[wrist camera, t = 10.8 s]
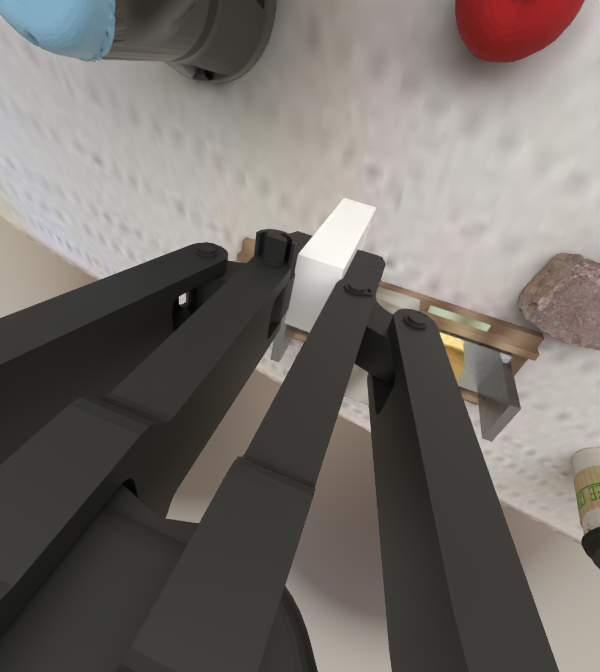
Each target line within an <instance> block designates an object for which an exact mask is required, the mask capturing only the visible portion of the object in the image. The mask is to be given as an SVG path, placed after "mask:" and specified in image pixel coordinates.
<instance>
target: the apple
mask: <svg viewBox="0 0 600 672" xmlns="http://www.w3.org/2000/svg"><path fill="white" fill-rule="evenodd" d="M583 2H584V0H456V6H455V13H456V19H457V25H458V30H459V33H460V35H461V38H462V40H463V41H464V43H465V44H466V46H467V48H468V49H469V50H470V51H471V52H472V53H473V54H474V55H475V56H477V57H478V58H480V59H482V60H486V61H490V62H514V61H516V60H519V59H522V58H525V57H527V56H529V55H531V54H533V53H535V52H538V51H540V50H542V49H544V48H545V47H546V46H548V45H549V44H551V43H552V42H553V41H555V40H556V39H557V38H558V37H559V36H560V35H561V34H562V32H563V31H564V30H565V29H566V28H567V27H568V26H569V25H570V24H571V22H572V21H573V19H574V18H575V16H576V15H577V13H578V12H579V10H580V8H581V6H582V4H583Z"/></svg>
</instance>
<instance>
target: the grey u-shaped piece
mask: <svg viewBox="0 0 600 672" xmlns="http://www.w3.org/2000/svg"><path fill="white" fill-rule="evenodd" d="M285 317H286V313H285V315H284V316H283V318H282V321H281V326H280V330H279V332H278V334H277V335H276V337H275V338H274V343H273V349H272V354H271V360H274V361H277V362H279V361H280V359H281V358H282V356H283V354H284V352H285V351H286V349H287V347H288V346H289V344H290V342H291V340H292V339H293V337H294V335H295V334H296V332H297V330H298V329H300V328H297V327H294V326H291V325H288V324H286V323H285ZM300 330H302V329H300ZM438 330H439V332H440V335H441V338H442V341H443V344H444V347H445V349H446V352H447V355H448V358H449V361H450V364H451V366H452V369H453V372H454V375H455V378H456V381H457V383H458V386H460V387H463V388H466V389H468V390H471V391H474V392H477V393H478V403H479V413H480V423H481V433H482V438H483V439H486V440H489V441H491V442H492V441H493V440H494V438H495V437H496V436H497V435H498V434H499V433H500V432H501V431H502V430H503V428H504V427H505V426H506V425H507V424H508V423H509V422H510V421H511V420H512V418H513V417H514V416H515V415H516V414H517V413H518V412H519V411H520V409H521V407H520V402H519V398H518V393H517V389H516V384H515V380H514V375H513V371H512V366H511V362H510V360H511V358H512V357H513V356H512V353H510V352H507V351H504V350H501V349H498V348H495V347H492V346H489V345H486V344H483V343H480V342H477V341H474V340H471V339H468V338H465V337H462V336H459V335H456V334H453V333H450V332H447V331H444V330H442V329H439V328H438ZM303 331H305V330H303ZM306 332H308V331H306ZM308 333H310V332H308Z"/></svg>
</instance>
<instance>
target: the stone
mask: <svg viewBox="0 0 600 672" xmlns="http://www.w3.org/2000/svg"><path fill="white" fill-rule="evenodd" d="M517 307H518V309H520V310H521V311H522V312H523V316H524V318H525V319H526V320H529V321H530V322H531V323H532V324H534V325H535V326H536V327H537V328H539V329H541V330H542V331H543V332H545V333H548V334H550V335H551V337H553V338H556V339H559V340H561V341H564V342H566V343H568V344H576V345H578V346H582V347H586V348H592V349H595V350H600V263H597V262H594V261H591V260H588V259H584V258H583V256H582V255H579V254H566V253H561V254H557V255H556V256H555V257H554V258H553V259H552V260H551V261H550V262H549V264H548V266H547V267H546V268H545V269H543V270H542V271H540V273H539V274H538V275H537V276H536V277H534V279H533V280H532V282H531V283H529V284H528V285H527V287H526V288H525V289H524V290H523V292H522V293H521V295H520V298H519V303H518V306H517Z"/></svg>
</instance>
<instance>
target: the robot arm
mask: <svg viewBox="0 0 600 672" xmlns="http://www.w3.org/2000/svg"><path fill="white" fill-rule="evenodd" d="M275 11H276V0H0V15H1V16H2V17H3V18H4V19H5V20H6V21H7V22H8V23H9V24H10V25H11V26H12V27H13V28H14V29H15V30H16V31H17V32H18V33H19V34H21V35H22V36H23V37H24V38H26V39H27V40H28V41H30V42H31V43H33V44H34V45H36V46H39V47H40V48H42V49H44V50H47V51H49V52H51V53H54V54H58V55H63V56H68V57H73V58H78V59H80V60H83V61H87V62H89V61H94V62H96V60H99V61H100V60H101V59H104V60H135V61H164V62H165V63H167V64H168V65H170V66H171V67H173V68H174V69H175V70H177V71H178V72H180V73H181V74H183V75H184V76H186V77H188V78H191V79H193V80H196V81H200V82H205V83H222V82H228V81H232V80H234V79H237V78H239V77H241V76H242V75H244V74H245V73H246V72H248V71H249V70H250V69H251V68H252V67H253V66H254V64H255V63H256V62H257V61H258V59H259V58H260V56H261V55H262V53H263V51H264V49H265V47H266V45H267V43H268V40H269V37H270V34H271V31H272V27H273V23H274V18H275ZM375 210H376V207H373V206H370V205H366V204H363V203H360V202H356V201H353V200H350V199H346V198H344V199H343V200H342V201H341V203H340V204H339V205H338V206H337V207H336V209H335V210H334V211H333V212H332V214H331V215H330V216H329V217H328V218H327V220H326V221H325V222H324V223H323V224H322V226H321V227H320V228H319V229H318V231H317V232H316V233H315V234H314V235H313V236H311V235H308V234H305V233H302V232H298V231H297V232H293V233H290V234H288V233H286V232H284V231H279V230H274V229H265V230H260V231H258V232H256V241H255V250H254V256H253V257H252V258H251V259H250V260H249V261H248V262H247V263H239V262H233V261H228V253H227V251H226V250H225V249H224V248H222V247H221V246H218V245H216V244H213V243H207V242H205V243H196V244H192V245H189V246H187V247H184V248H182V249H179V250H176V251H174V252H171V253H169V254H166V255H163V256H161V257H158V258H156V259H153V260H150V261H148V262H145V263H143V264H140V265H137V266H135V267H132V268H130V269H127V270H124V271H122V272H119V273H117V274H114V275H111V276H109V277H106V278H104V279H101V280H98V281H96V282H93V283H91V284H88V285H86V286H83V287H80V288H78V289H75V290H72V291H70V292H67V293H65V294H62V295H59V296H57V297H54V298H52V299H49V300H46V301H44V302H41V303H39V304H36V305H34V306H31V307H28V308H26V309H23V310H21V311H18V312H15V313H13V314H10V315H7V316H5V317H2V318H0V672H318V671H317V667H316V663H315V659H314V655H313V651H312V647H311V643H310V639H309V636H308V632H307V629H306V626H305V623H304V621H303V618H302V615H301V613H300V611H299V608H298V607H297V605H296V603H295V601H294V599H293V597H292V595H291V594H290V592H289V591H288V589H287V588H286V586H285V584H286V580H287V578H288V574H289V571H290V568H291V565H292V562H293V558H294V556H295V552H296V549H297V546H298V543H299V540H300V537H301V533H302V530H303V527H304V524H305V521H306V518H307V515H308V512H309V508H310V505H311V502H312V499H313V495H314V491H315V485H316V481H317V478H318V475H319V472H320V468H321V465H322V462H323V459H324V456H325V453H326V450H327V447H328V444H329V441H330V438H331V434H332V431H333V428H334V425H335V422H336V419H337V416H338V413H339V410H340V407H341V404H342V400H343V397H344V394H345V391H346V388H347V385H348V382H349V379H350V376H351V373H352V369H353V366H354V364H356V365H357V366H359V367H360V368H362V369H363V370H365V371H367V372H368V375H367V388H368V400H369V412H370V424H371V436H372V448H373V460H374V472H375V485H376V496H377V509H378V521H379V533H380V544H381V557H382V569H383V580H384V591H385V603H386V604H385V605H386V617H387V629H388V641H389V651H390V660H391V668H392V672H559V670H558V667H557V664H556V661H555V659H554V656H553V653H552V650H551V647H550V645H549V642H548V639H547V636H546V633H545V630H544V628H543V625H542V622H541V619H540V616H539V614H538V611H537V608H536V605H535V602H534V599H533V596H532V593H531V591H530V588H529V585H528V582H527V579H526V576H525V574H524V571H523V568H522V565H521V563H520V559H519V557H518V554H517V551H516V548H515V545H514V542H513V539H512V537H511V534H510V531H509V528H508V525H507V522H506V520H505V517H504V514H503V511H502V508H501V505H500V503H499V500H498V497H497V494H496V491H495V488H494V486H493V483H492V480H491V477H490V474H489V471H488V469H487V466H486V463H485V460H484V457H483V454H482V452H481V449H480V446H479V443H478V440H477V437H476V435H475V432H474V429H473V426H472V423H471V420H470V418H469V415H468V412H467V409H466V406H465V403H464V400H463V398H462V395H461V392H460V389H459V386H458V383H457V381H456V378H455V375H454V372H453V369H452V366H451V364H450V361H449V358H448V355H447V352H446V349H445V347H444V344H443V341H442V338H441V335H440V332H439V330H438V327H437V325H436V323H435V322H434V320H432V319H431V318H430V317H429V316H428V315H426V314H425V313H423V312H421V311H417V310H413V309H406V308H404V309H399V310H397V311H396V312H395V313H394V314H392V313H390V312H389V311H387V310H386V309H384V308H383V307H382V306H381V305H380V304H379V303H378V302H377V300H376V292H377V289H378V286H379V283H380V280H381V277H382V274H383V270H384V267H385V262H384V260H383V258H382V257H380V256H377V255H374V254H371V253H368V252H365V251H363V248H364V244H365V241H366V238H367V235H368V232H369V229H370V226H371V223H372V219H373V216H374V213H375ZM184 293H186V303H184V304H181V305H179V296H181V295H182V294H184ZM285 313H286V317H285V323H286V324H288V325H291V326H294V327H297V328H300V329H302V330H305V331H308V332H310V333H309V335H308V337H307V338H306V340H305V342H304V344H303V346H302V348H301V350H300V352H299V353H298V355H297V357H296V359H295V361H294V363H293V365H292V367H291V368H290V370H289V372H288V374H287V376H286V378H285V380H284V382H283V383H282V385H281V387H280V389H279V391H278V393H277V395H276V397H275V398H274V400H273V402H272V404H271V406H270V408H269V410H268V412H267V414H266V415H265V417H264V419H263V421H262V423H261V425H260V427H259V428H258V430H257V432H256V434H255V436H254V438H253V440H252V441H251V444H250V445H249V447H248V449H247V451H246V453H245V454H244V455H243V456H242V457H238V458H237V459H236V460H235V461H234V462H233V464H232V466H231V467H230V469H229V470H228V472H227V474H226V476H225V477H224V479H223V481H222V483H221V485H220V486H219V488H218V490H217V492H216V494H215V496H214V497H213V499H212V501H211V503H210V505H209V506H208V508H207V510H206V512H205V514H204V516H203V517H202V519H201V521H200V523H192V522H185V521H177V520H171V519H165V518H166V516H167V513H168V510H169V507H170V503H171V501H172V498H173V496H174V494H175V492H176V491H177V489H178V487H179V486H180V484H181V482H182V481H183V479H184V478H185V476H186V475H187V473H188V472H189V470H190V469H191V467H192V466H193V464H194V462H195V461H196V459H197V458H198V456H199V455H200V453H201V452H202V450H203V448H204V447H205V445H206V444H207V442H208V441H209V439H210V438H211V436H212V434H213V433H214V431H215V430H216V428H217V427H218V425H219V423H220V422H221V421H222V419H223V417H224V416H225V414H226V413H227V411H228V410H229V408H230V407H231V405H232V403H233V402H234V400H235V399H236V397H237V396H238V394H239V393H240V391H241V389H242V388H243V386H244V385H245V383H246V382H247V380H248V379H249V377H250V375H251V374H252V372H253V371H254V369H255V368H256V366H257V365H258V363H259V362H260V360H261V358H262V357H263V355H264V354H265V352H266V351H267V349H268V348H269V346H270V344H271V343H272V341H273V340H274V338H275V337H276V335H277V334H278V332H279V330H280V326H281V321H282V318H283V316H284V315H285Z"/></svg>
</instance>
